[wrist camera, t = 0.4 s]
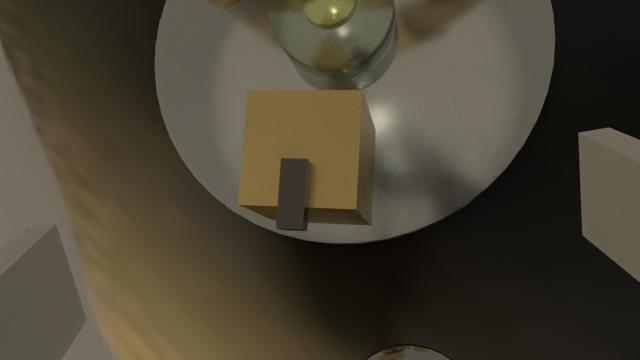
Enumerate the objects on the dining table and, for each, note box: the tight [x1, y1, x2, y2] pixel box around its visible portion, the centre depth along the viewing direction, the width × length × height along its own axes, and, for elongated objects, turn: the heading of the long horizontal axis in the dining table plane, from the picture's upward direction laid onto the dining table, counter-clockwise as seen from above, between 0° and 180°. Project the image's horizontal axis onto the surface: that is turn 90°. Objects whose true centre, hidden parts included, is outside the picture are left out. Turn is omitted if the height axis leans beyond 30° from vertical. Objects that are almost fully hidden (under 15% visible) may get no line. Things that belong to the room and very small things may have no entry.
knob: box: [237, 90, 376, 231], centre depth 27 cm, size 6×5×9 cm
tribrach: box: [155, 0, 555, 245], centre depth 31 cm, size 22×22×6 cm
